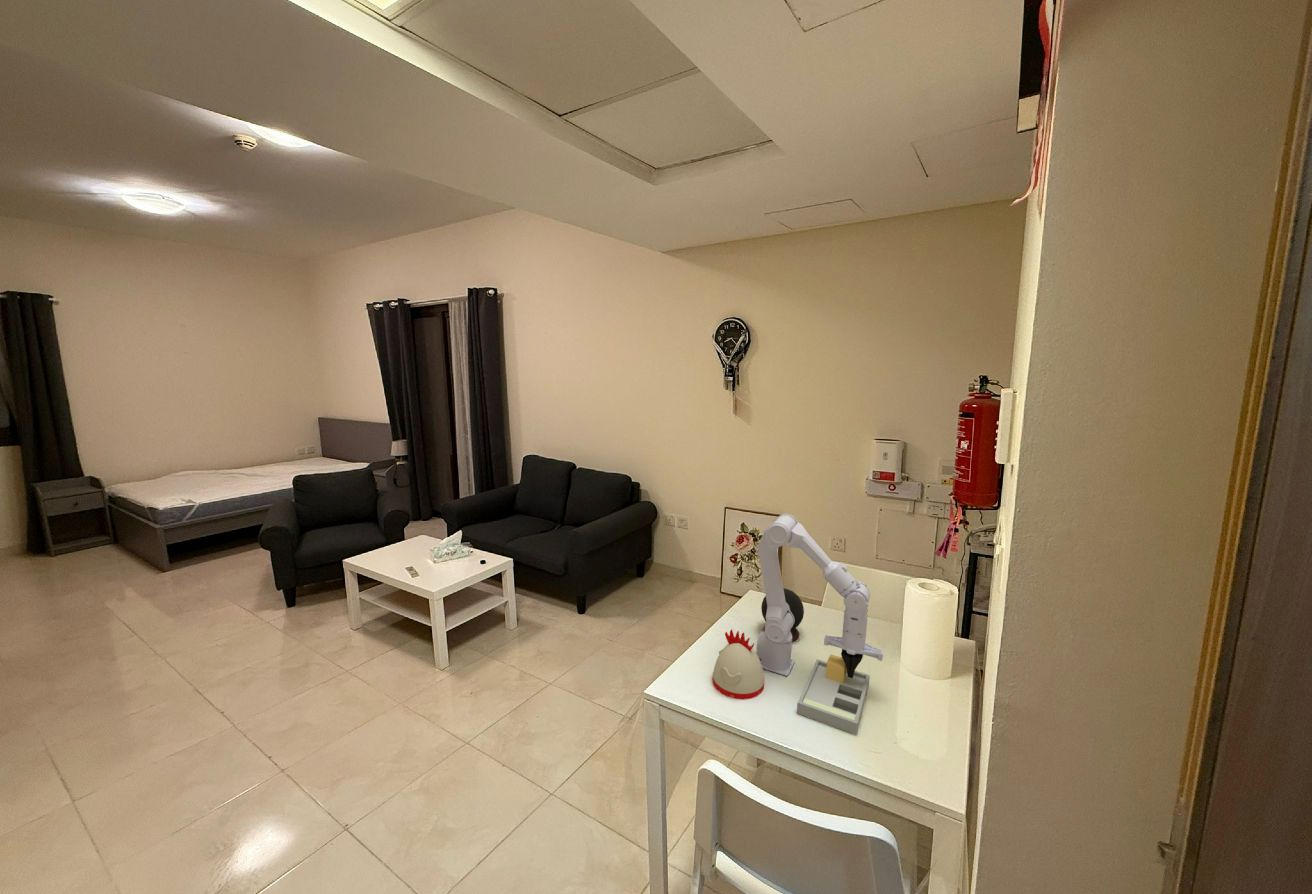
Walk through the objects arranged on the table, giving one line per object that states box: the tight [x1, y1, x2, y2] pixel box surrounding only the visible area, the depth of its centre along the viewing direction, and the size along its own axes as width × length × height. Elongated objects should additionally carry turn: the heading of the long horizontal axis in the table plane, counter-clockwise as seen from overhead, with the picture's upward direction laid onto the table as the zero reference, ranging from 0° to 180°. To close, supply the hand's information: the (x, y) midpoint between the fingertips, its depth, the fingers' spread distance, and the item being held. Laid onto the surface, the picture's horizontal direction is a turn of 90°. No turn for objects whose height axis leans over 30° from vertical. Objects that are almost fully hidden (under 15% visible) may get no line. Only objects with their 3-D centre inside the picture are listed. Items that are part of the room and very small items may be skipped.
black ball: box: [761, 587, 805, 644], centre depth 158 cm, size 13×13×15 cm
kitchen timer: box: [712, 628, 765, 700], centre depth 134 cm, size 14×14×15 cm
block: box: [826, 654, 847, 683], centre depth 135 cm, size 4×4×4 cm
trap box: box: [796, 658, 871, 736], centre depth 129 cm, size 14×21×3 cm, turn 150°
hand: (850, 675), depth 133 cm, fingers closed
